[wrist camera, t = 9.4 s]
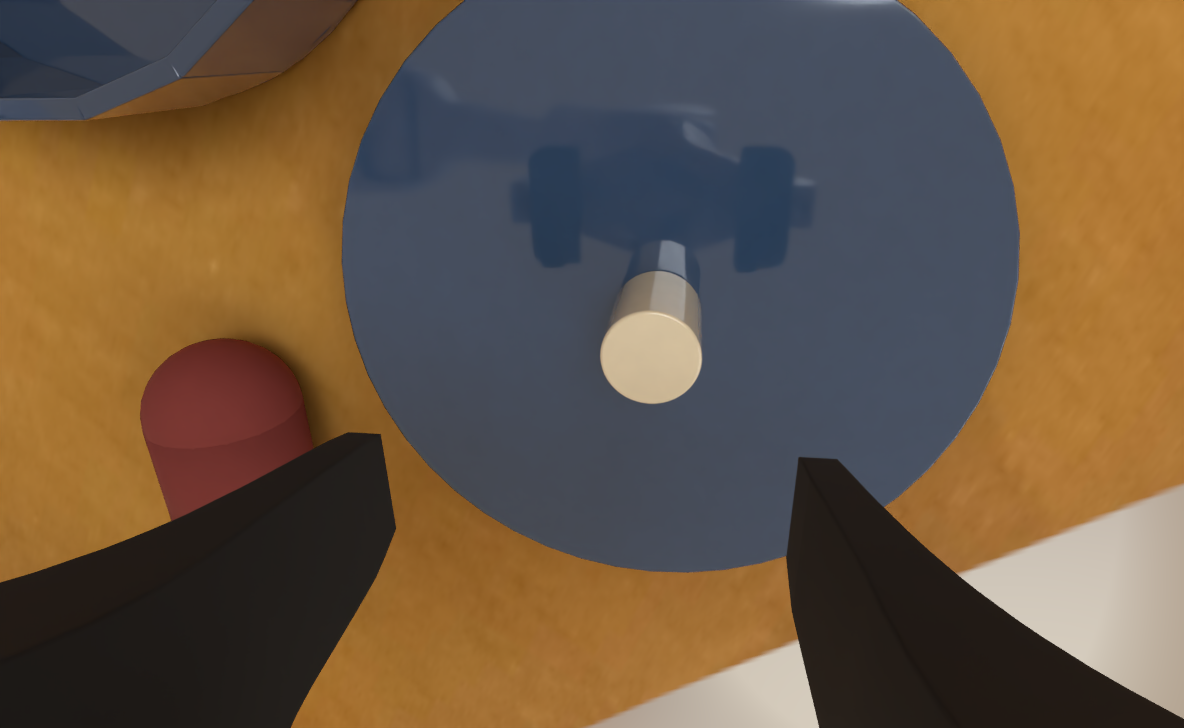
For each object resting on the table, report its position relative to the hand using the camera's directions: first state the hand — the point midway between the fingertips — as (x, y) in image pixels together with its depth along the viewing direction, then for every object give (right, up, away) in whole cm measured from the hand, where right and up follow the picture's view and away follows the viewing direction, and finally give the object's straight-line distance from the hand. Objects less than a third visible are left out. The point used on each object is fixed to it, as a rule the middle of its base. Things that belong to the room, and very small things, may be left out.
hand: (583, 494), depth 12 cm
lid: (+2, +4, +8) cm, 9 cm away
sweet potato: (-11, 0, +12) cm, 16 cm away
